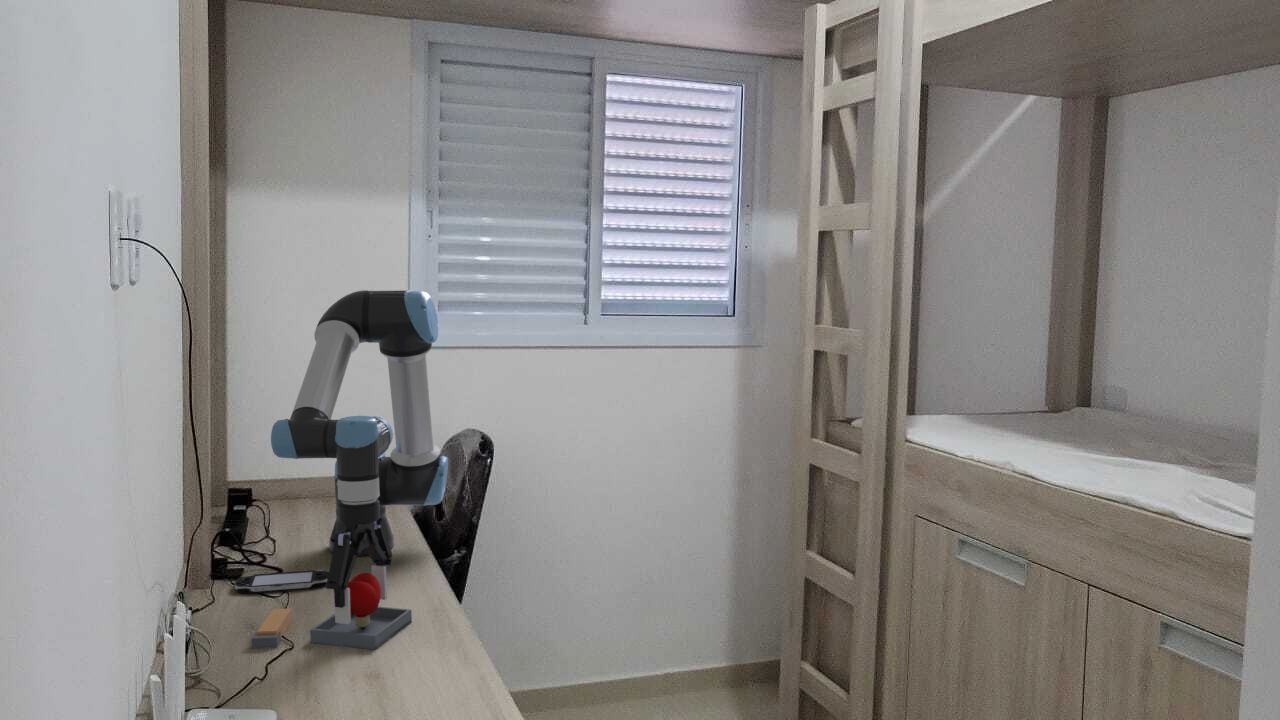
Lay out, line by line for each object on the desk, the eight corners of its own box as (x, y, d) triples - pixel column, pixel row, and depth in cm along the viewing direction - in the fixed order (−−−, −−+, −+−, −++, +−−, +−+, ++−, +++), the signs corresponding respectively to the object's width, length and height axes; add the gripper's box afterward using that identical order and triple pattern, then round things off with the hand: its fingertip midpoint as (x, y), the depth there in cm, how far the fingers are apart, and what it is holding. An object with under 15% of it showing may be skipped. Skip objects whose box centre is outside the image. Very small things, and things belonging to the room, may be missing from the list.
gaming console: (331, 578, 229) (330, 566, 228) (329, 590, 220) (328, 578, 220) (238, 584, 224) (237, 573, 224) (232, 597, 215) (231, 585, 215)
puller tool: (271, 621, 201) (270, 609, 201) (294, 620, 201) (294, 608, 201) (252, 649, 187) (251, 635, 187) (277, 648, 188) (276, 634, 187)
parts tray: (350, 616, 203) (350, 603, 203) (411, 622, 200) (411, 609, 200) (310, 642, 190) (310, 629, 190) (375, 649, 187) (375, 636, 186)
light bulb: (368, 640, 190) (365, 588, 188) (333, 637, 191) (330, 586, 190) (390, 618, 199) (387, 569, 197) (357, 616, 200) (353, 567, 199)
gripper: (373, 484, 205) (376, 587, 207) (303, 515, 181) (307, 632, 183) (408, 486, 203) (410, 590, 206) (341, 518, 179) (345, 636, 182)
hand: (361, 610), depth 195 cm, fingers open, 13 cm apart
